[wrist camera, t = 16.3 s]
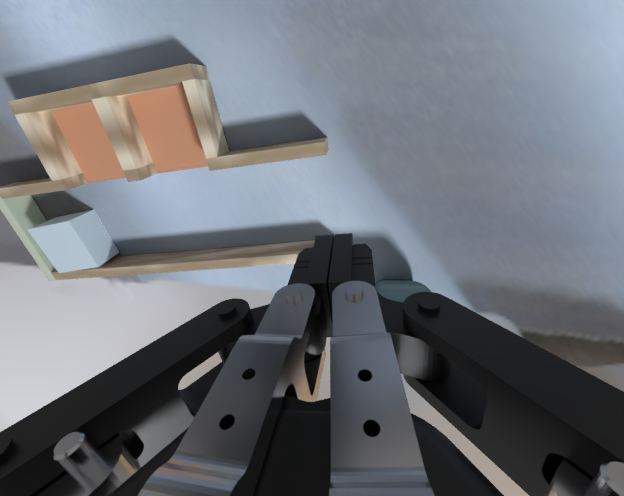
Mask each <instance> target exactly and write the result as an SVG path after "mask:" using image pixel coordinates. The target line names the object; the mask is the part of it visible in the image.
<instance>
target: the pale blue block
mask: <svg viewBox="0 0 624 496" xmlns="http://www.w3.org/2000/svg"><path fill="white" fill-rule="evenodd" d="M27 230H28V232H29V233H30V234H31V236H32V237H33V238H34V240H35V241H36V242H37V244H38V245H39V247H40V248H41V249H42V251H43V252H44V253H45V255H46V256H47V258H48V259H49V260H50V262H51V263H52V264H53V266H54V267H55V269H56V270H57V271H58V273H64V272H70V271H76V270H82V269H89V268H95V267H99V266H101V265H102V264H103V263H105V262H106V261H108V260H109V259H111V258H112V257H114V256H115V255H116V254H118V253H119V251H118V249H117V247H116V246H115V244H114V242H113V241H112V239H111V237H110V235H109V234H108V232H107V230H106V229H105V227H104V225H103V224H102V222H101V220H100V219H99V217H98V215H97V214H96V212H95V210H94V209H93V210H88V211H84V212H79V213H74V214H69V215H65V216H60V217H55V218H53V219H51V220H48V221H46V222H44V223H41V224H39V225H37V226H34V227H32V228H29V229H27Z"/></svg>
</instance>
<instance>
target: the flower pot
mask: <svg viewBox="0 0 624 496" xmlns="http://www.w3.org/2000/svg"><path fill="white" fill-rule="evenodd" d="M375 287H376V290H377V291H378V293H379V294H380V295H382V296H383V297H385V298H387V299H390V300H393V301H398V302H404V300H405V299H406V298H407V297H408V296H410V295H412V294H414V293H418V292H431V291H430V290H429V289H428V288H427V287H426V286H425V285H423V284H421V283H419V282H415V281H408V280H381V281H379V282H378V283H377V284H376V285H375Z"/></svg>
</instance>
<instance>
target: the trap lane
mask: <svg viewBox="0 0 624 496" xmlns="http://www.w3.org/2000/svg"><path fill="white" fill-rule="evenodd" d="M8 104H9V106H10V108H11V109H12V111H13V113H14V115H15V116H16V118H17V120H18V122H19V124H20V125H21V127H22V129H23V131H24V132H25V134H26V136H27V138H28V139H29V141H30V143H31V145H32V147H33V148H34V150H35V152H36V154H37V155H38V157H39V159H40V161H41V162H42V164H43V166H44V168H45V170H46V171H47V173H48V175H49V177H50V178H44V179H37V180H30V181H23V182H16V183H12V184H9V185H5V186H1V187H0V209H1V211H2V212H3V214H4V215H5V217H6V218H7V220H8V221H9V223H10V224H11V226H12V227H13V229H14V230H15V231H16V233H17V234H18V236H19V237H20V239H21V240H22V242H23V243H24V245H25V246H26V248H27V249H28V251H29V252H30V254H31V255H32V257H33V258H34V260H35V261H36V262H37V264H38V265H39V267H40V268H41V270H42V271H43V273H44V274H45V276H46V277H47V279H48V280H62V279H78V278H92V277H107V276H121V275H135V274H150V273H164V272H178V271H193V270H207V269H222V268H236V267H250V266H265V265H279V264H294V263H296V259H297V256H298V254H299V253H300V252H301V251H302V250H303V249H305V248H313V247H314V243H315V240H312V241H300V242H288V243H276V244H264V245H252V246H240V247H228V248H216V249H204V250H192V251H180V252H168V253H156V254H144V255H132V256H120V257H112V258H111V259H109V260H108V261H106V262H105V263H103V264H102V265H101V266H99V267H95V268H89V269H82V270H76V271H70V272H64V273H58V271H57V270H56V269H55V267H54V266H53V264H52V263H51V262H50V260H49V259H48V258H47V256H46V255H45V253H44V252H43V251H42V249H41V248H40V247H39V245H38V244H37V242H36V241H35V240H34V238H33V237H32V236H31V234H30V233H29V232H28V230H27V229H29V228H32V227H34V226H37V225H39V224H41V223H44V222H46V221H47V220H46V219H45V217H44V215H43V214H42V212H41V211H40V209H39V207H38V206H37V204H36V202H35V201H34V199H33V197H32V196H31V195H34V194H41V193H49V192H56V191H64V190H68V189H71V188H74V187H77V186H80V185H83V184H86V183H90V182H97V181H105V180H112V179H119V178H127V180H128V182H130V181H137V180H142V179H145V178H147V177H149V176H152V175H154V174H157V173H162V172H170V171H177V170H184V169H191V168H198V167H206V166H208V167H209V170H210V171H211V170H218V169H226V168H233V167H241V166H248V165H255V164H263V163H270V162H277V161H285V160H292V159H300V158H307V157H314V156H322V155H326V154H327V152H328V149H329V148H328V140H327V137H323V138H316V139H310V140H303V141H296V142H289V143H282V144H276V145H269V146H262V147H255V148H248V149H241V150H235V151H229V149H228V146H227V142H226V138H225V135H224V131H223V127H222V124H221V120H220V116H219V113H218V109H217V105H216V102H215V98H214V94H213V91H212V87H211V83H210V80H209V76H208V72H207V69H206V66H203V65H197V64H191V63H188V64H184V65H179V66H174V67H169V68H165V69H160V70H155V71H150V72H146V73H141V74H136V75H131V76H127V77H122V78H117V79H112V80H108V81H103V82H98V83H93V84H89V85H84V86H79V87H74V88H70V89H65V90H60V91H55V92H51V93H46V94H41V95H36V96H32V97H27V98H22V99H17V100H13V101H8Z"/></svg>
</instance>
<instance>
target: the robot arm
mask: <svg viewBox="0 0 624 496" xmlns="http://www.w3.org/2000/svg"><path fill="white" fill-rule="evenodd" d="M326 337H331V340H330V374H331V375H330V377H331V378H330V379H331V380H330V381H331V398H329V399H324V400H320V401H317V396H318V392H319V387H320V381H321V377H322V371H323V367H324V362H325V356H326V353H325V345H326ZM217 352H219V355H220V357H221V359H222V362H221V363H220V364H218V365H217V366H216V367H214V368H213V369H211V370H210V371H209V372H207V373H206V374H205V375H203V376H202V377H200V378H199V379H198V380H197V381H195V382H194V383H192V384H191V385H190V386H188V387H187V388H185V389H182V390H178V384H179V382H180V380H181V379H182V377H183V376H184V375H185V374H187V373H188V372H190V371H191V370H192V369H194V368H195V367H197V366H198V365H199V364H201V363H203V362H204V361H205V360H207V359H208V358H210V357H211V356H213V355H214V354H215V353H217ZM400 373H401V374H403V375H404V378H405V380H406V382H407V383H408V384H409V385H410V386H411V387H412V388H413V389H414V390H415V391H416V392H417V393H418V394H419V395H421V396H422V397H423V398H424V399H425V400H426V401H427V402H428V403H429V404H430V405H431V406H433V407H434V408H435V409H436V410H437V411H438V412H439V413H440V414H441V415H443V416H444V417H445V418H446V419H447V420H448V421H449V422H450V423H451V424H452V425H453V426H454V427H455V428H457V429H458V430H459V431H460V432H461V433H462V434H463V435H464V436H465V437H466V438H468V439H469V440H470V441H471V442H472V443H473V444H474V445H475V446H476V447H477V448H478V449H480V450H481V451H482V452H483V453H484V454H485V455H486V456H487V457H488V458H489V459H490V460H492V462H494V463H495V464H496V465H497V466H498V467H499V468H500V469H501V470H502V471H504V472H505V473H506V474H507V475H508V476H509V477H510V478H511V479H512V480H513V481H514V482H515V483H516V484H518V485H519V486H520V487H521V488H522V489H523V490H524V491H525V492H526V493H527V494H528V495H530V496H624V392H623V391H621V390H619V389H617V388H615V387H613V386H611V385H609V384H608V383H606V382H604V381H602V380H600V379H598V378H597V377H595V376H593V375H591V374H589V373H587V372H585V371H583V370H582V369H580V368H578V367H576V366H574V365H572V364H570V363H569V362H567V361H565V360H563V359H561V358H559V357H557V356H555V355H554V354H552V353H550V352H548V351H546V350H544V349H542V348H541V347H539V346H537V345H535V344H533V343H531V342H529V341H527V340H526V339H524V338H522V337H520V336H518V335H516V334H514V333H512V332H511V331H509V330H507V329H505V328H503V327H501V326H499V325H497V324H495V323H494V322H492V321H490V320H488V319H486V318H484V317H483V316H481V315H479V314H477V313H475V312H473V311H471V310H470V309H468V308H466V307H464V306H462V305H460V304H458V303H456V302H455V301H453V300H451V299H449V298H447V297H445V296H443V295H441V294H438V293H433V292H418V293H414V294H412V295H410V296H408V297H407V298H406V299H405V300H404V302H398V301H393V300H390V299H387V298H385V297H383V296H382V295H380V294H379V293H378V291H377V290H376V287H375V279H374V269H373V260H372V251H371V249H370V248H369V247H368V246H367V245H366V244H356V245H353V236H352V233H349V234H336V235H335V236H334V235H324V236H316V239H315V243H314V247H313V248H305V249H303V250H302V251H301V252H300V253H299V254H298V256H297V259H296V263H295V265H294V269H293V271H292V274H291V277H290V280H289V283H288V285H287V286H285V287H283V288H281V289H280V290H278V291H277V292H276V293H275V295H274V297H273V299H272V301H271V303H270V304H268V305H265V306H261V307H258V308H254V309H250V307H249V304H248V303H247V302H246V301H245V300H243V299H229V300H225V301H223V302H220V303H218V304H217V305H215V306H213V307H211V308H210V309H208V310H207V311H205V312H203V313H201V314H200V315H198V316H197V317H195V318H193V319H191V320H190V321H188V322H186V323H184V324H183V325H181V326H179V327H178V328H176V329H174V330H173V331H171V332H169V333H168V334H166V335H164V336H162V337H161V338H159V339H157V340H156V341H154V342H152V343H151V344H149V345H147V346H146V347H144V348H142V349H140V350H139V351H137V352H136V353H134V354H132V355H130V356H129V357H127V358H125V359H124V360H122V361H120V362H118V363H117V364H115V365H113V366H112V367H110V368H108V369H107V370H105V371H103V372H102V373H100V374H98V375H96V376H95V377H93V378H91V379H90V380H88V381H86V382H85V383H83V384H81V385H80V386H78V387H76V388H75V389H73V390H71V391H69V392H68V393H66V394H64V395H63V396H61V397H59V398H58V399H56V400H54V401H52V402H51V403H49V404H48V405H46V406H44V407H42V408H41V409H39V410H37V411H36V412H34V413H32V414H31V415H29V416H27V417H26V418H24V419H22V420H20V421H19V422H17V423H16V424H14V425H12V426H10V427H9V428H7V429H5V430H4V431H2V432H0V496H504V495H502V493H501V492H500V491H499V490H498V489H497V488H496V487H495V486H494V485H493V484H492V483H491V482H490V481H489V480H488V479H487V478H486V477H485V476H484V475H483V474H482V473H481V472H480V471H479V470H478V469H477V468H476V467H475V466H474V465H473V464H472V463H471V461H469V460H468V458H467V457H466V456H465V455H464V454H463V453H462V452H461V451H460V450H459V449H457V447H456V446H455V445H454V444H453V443H452V442H451V441H450V440H449V439H448V438H447V437H446V436H445V435H444V434H442V433H441V432H440V431H439V430H437V429H436V428H435V427H434V426H432V425H431V424H429V423H427V422H426V421H425V420H423V419H421V418H419V417H417V416H416V415H413V414H411V413H410V409H409V405H408V401H407V398H406V393H405V389H404V386H403V381H402V378H401V374H400Z"/></svg>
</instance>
